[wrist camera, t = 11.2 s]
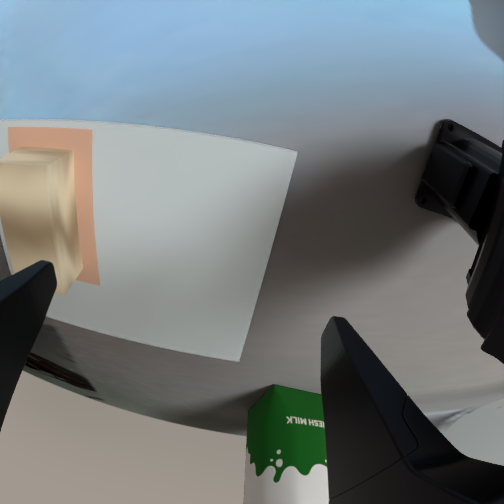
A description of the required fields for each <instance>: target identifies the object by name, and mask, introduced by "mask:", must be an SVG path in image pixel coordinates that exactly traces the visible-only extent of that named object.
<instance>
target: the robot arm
mask: <svg viewBox="0 0 504 504" xmlns="http://www.w3.org/2000/svg"><path fill="white" fill-rule="evenodd" d="M449 124H450V125H451V128H450V129H449V130H448V125H449ZM421 198H424V200H423V201H422V202H420V200H421ZM415 202H416V204H417V205H418V206H419V207H421V208H424V209H427V210H430V211H433V212H437V213H440V214H443V215H445V216H448V217H451V218H454V219H455V220H456V221H457V222H458V223H459V224H460V225H461V226H462V227H463V229H464V230H465V231H466V232H467V233H468V234H469V235H470V236H471V237H472V239H473V240H474V241H475V242H476V243H477V244H478V245H479V247H478V250H477V253H476V256H475V259H474V262H473V264H472V267H471V269H469V271H468V274H467V276H466V279H467V283H468V287H467V291H466V299H467V305H468V308H469V310H468V312H467V316H468V318H469V320H470V322H471V323H472V325H473V327H474V328H475V330H476V331H477V332H478V333H479V334H480V336H481V337H482V338H483V339H484V342H483V344H482V345H481V349H482V350H483V351H484V352H486V353H488V354H490V355H492V356H494V357H495V358H497V359H498V360H500V361H501V362H502V363H503V364H504V140H503V143H502V148H501V147H499V146H497V145H496V144H494V143H492V142H491V141H489V140H487V139H486V138H484V137H482V136H480V135H479V134H477V133H475V132H473V131H471V130H469V129H468V128H466V127H464V126H462V125H460V124H458V123H456V122H454V121H452V120H450V119H446V120H444V121H443V123H442V126H441V129H440V132H439V135H438V138H437V141H436V144H435V145H434V146H433V149H432V152H431V154H430V157H429V160H428V163H427V165H426V168H425V171H424V173H423V176H422V181H421V184H420V186H419V189H418V191H417V194H416V196H415ZM56 288H57V278H56V274H55V269H54V265H53V263H52V262H50V261H46V260H40V261H38V262H36V263H34V264H32V265H30V266H28V267H26V268H24V269H22V270H21V271H19V272H17V273H15V274H13V275H11V276H9V277H7V278H5V279H4V280H2V281H0V431H1V427H2V424H3V421H4V418H5V415H6V412H7V409H8V406H9V404H10V401H11V398H12V395H13V393H14V390H15V387H16V384H17V382H18V380H19V377H20V374H21V372H22V370H23V367H24V365H25V363H26V360H27V358H28V356H29V353H30V351H31V349H32V346H33V344H34V342H35V340H36V338H37V336H38V333H39V331H40V329H41V327H42V324H43V322H44V319H45V317H46V314H47V311H48V309H49V306H50V303H51V301H52V298H53V296H54V293H55V291H56ZM321 393H322V404H323V416H324V428H325V441H326V456H327V473H328V493H329V499H330V500H329V504H504V466H502V465H497V464H492V463H489V462H485V461H481V460H477V459H473V458H470V457H467V456H465V455H464V454H462V453H461V452H459V451H458V450H457V449H456V448H455V447H454V446H453V445H452V444H451V443H450V442H449V441H448V440H447V439H446V438H445V437H444V436H443V434H442V433H441V432H440V431H439V430H438V429H437V428H436V427H435V426H434V425H433V424H432V423H431V422H430V421H429V419H428V418H427V417H426V416H425V415H424V414H423V413H422V412H421V410H420V409H419V408H418V407H417V406H416V404H415V403H414V402H413V401H412V399H411V398H410V397H409V396H407V393H406V392H405V391H404V389H403V388H402V387H401V386H400V384H399V383H398V382H397V381H396V380H395V378H394V377H393V376H392V375H391V373H390V372H389V371H388V370H387V368H386V367H385V366H384V365H383V364H382V362H381V361H380V360H379V359H378V357H377V356H376V355H375V354H374V353H373V351H372V350H371V349H370V348H369V346H368V345H367V344H366V343H365V342H364V340H363V339H362V338H361V337H360V336H359V334H358V333H357V332H356V331H355V330H354V328H353V327H352V326H351V325H350V324H349V322H348V321H347V320H346V319H345V318H343V317H336V316H333V317H331V318H330V320H329V322H328V324H327V326H326V328H325V330H324V332H323V334H322V337H321Z"/></svg>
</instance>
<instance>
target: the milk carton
mask: <svg viewBox="0 0 504 504" xmlns="http://www.w3.org/2000/svg"><path fill="white" fill-rule="evenodd" d="M329 500H330V499H329V493H328V473H327V456H326V441H325V428H324V416H323V404H322V395H321V394H315V393H310V392H306V391H301V390H296V389H292V388H287V387H283V386H278V385H273V386H272V387H271V388H270V389H269V390H268V392H267V393H266V394H265V395H264V396H263V397H262V398H261V399H260V400H259V401H258V402H257V403H256V404H255V405H254V406H253V407H252V408H251V409H250V410H249V411H248V424H247V444H246V462H245V483H244V502H243V504H329Z"/></svg>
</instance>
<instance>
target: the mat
mask: <svg viewBox="0 0 504 504" xmlns="http://www.w3.org/2000/svg"><path fill="white" fill-rule="evenodd" d="M20 147H42V148H57V149H70V150H74V183H75V199H76V212H77V223H78V233H79V241H80V249H81V257H82V264H83V269H82V271H81V272H80V274H79V275H78V277H77V278H76V280H75V281H74V283H73V284H72V286H71V287H70V289H69V290H68V292H67V293H66V295H65V296H63V295H59V294H56V293H54V296H53V298H52V301H51V303H50V306H49V309H48V311H47V314H46V317H49V318H53V319H56V320H59V321H62V322H65V323H68V324H72V325H75V326H78V327H82V328H85V329H89V330H92V331H96V332H100V333H103V334H107V335H111V336H115V337H119V338H123V339H127V340H131V341H135V342H139V343H143V344H148V345H152V346H157V347H161V348H166V349H171V350H175V351H180V352H185V353H191V354H196V355H201V356H207V357H213V358H218V359H224V360H231V361H237V362H239V360H240V357H241V353H242V350H243V346H244V343H245V340H246V336H247V333H248V329H249V326H250V323H251V319H252V316H253V312H254V309H255V305H256V302H257V298H258V295H259V291H260V288H261V284H262V281H263V277H264V274H265V270H266V267H267V263H268V260H269V256H270V252H271V249H272V245H273V242H274V238H275V234H276V231H277V227H278V224H279V220H280V216H281V213H282V209H283V205H284V202H285V198H286V194H287V191H288V187H289V183H290V180H291V176H292V172H293V168H294V165H295V161H296V157H297V153H298V152H297V151H294V150H290V149H286V148H281V147H277V146H272V145H267V144H262V143H257V142H252V141H247V140H242V139H237V138H231V137H226V136H220V135H214V134H208V133H201V132H195V131H188V130H181V129H173V128H165V127H157V126H148V125H139V124H129V123H117V122H104V121H88V120H66V119H1V120H0V158H2V157H4V156H5V155H7V154H9V153H11V152H13V151H14V150H16V149H18V148H20ZM0 235H1V239H2V243H3V247H4V251H5V255H6V259H7V262H8V266H9V269H10V272H11V275H13V274H14V271H13V267H12V264H11V260H10V256H9V253H8V249H7V245H6V241H5V237H4V232H3V228H2V223H1V218H0Z"/></svg>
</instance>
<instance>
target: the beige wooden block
mask: <svg viewBox="0 0 504 504" xmlns="http://www.w3.org/2000/svg"><path fill="white" fill-rule="evenodd" d="M0 218H1V223H2V228H3V232H4V237H5V241H6V245H7V249H8V253H9V256H10V260H11V264H12V267H13V271H14V274H15V273H17V272H19V271H21V270H22V269H24V268H26V267H28V266H30V265H32V264H34V263H36V262H38V261H40V260H46V261H50V262H52V263H53V265H54V269H55V274H56V278H57V288H56V291H55V293H56V294H59V295H63V296H65V295H66V293H67V292H68V290H69V289H70V287H71V286H72V284H73V283H74V281H75V280H76V278H77V277H78V275H79V274H80V272H81V271H82V269H83V264H82V257H81V249H80V241H79V233H78V223H77V212H76V199H75V183H74V150H70V149H57V148H42V147H20V148H18V149H16V150H14V151H13V152H11V153H9V154H7V155H5V156H4V157H2V158H0Z"/></svg>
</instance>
